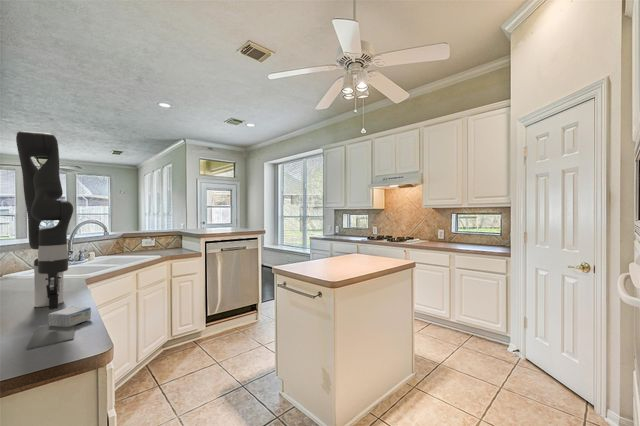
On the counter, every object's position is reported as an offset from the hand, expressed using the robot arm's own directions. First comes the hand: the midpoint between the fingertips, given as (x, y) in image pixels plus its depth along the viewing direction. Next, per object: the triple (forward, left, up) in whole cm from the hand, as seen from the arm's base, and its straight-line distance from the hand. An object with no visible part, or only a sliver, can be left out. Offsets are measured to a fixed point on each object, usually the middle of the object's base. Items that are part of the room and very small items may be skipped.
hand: (53, 308), depth 96 cm
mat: (+7, 0, -6) cm, 10 cm away
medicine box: (-4, +1, -4) cm, 6 cm away
